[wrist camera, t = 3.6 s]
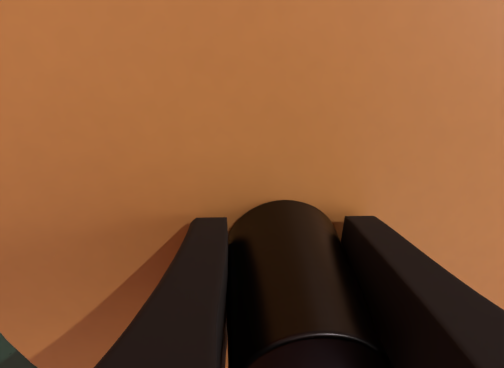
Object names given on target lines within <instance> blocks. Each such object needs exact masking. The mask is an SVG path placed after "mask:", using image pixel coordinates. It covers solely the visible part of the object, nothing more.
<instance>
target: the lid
mask: <svg viewBox="0 0 504 368" xmlns="http://www.w3.org/2000/svg"><path fill="white" fill-rule="evenodd" d="M345 216H375V217H377V218H378V219H380V220H381V221H383V222H384V223H385V224H387V225H388V226H389V227H391V228H392V229H393V230H395V231H396V232H397V233H399V234H400V235H401V236H403V237H404V238H405V239H406V240H408V241H409V242H410V243H412V244H413V245H414V246H416V247H417V248H418V249H419V250H421V251H422V252H423V253H425V254H426V255H427V256H429V257H430V258H431V259H432V260H434V261H435V262H436V263H438V264H439V265H440V266H442V267H443V268H444V269H446V270H447V271H448V272H450V273H451V274H453V275H454V276H455V277H457V278H458V279H459V280H461V281H462V282H464V283H465V284H466V285H468V286H469V287H471V288H472V289H473V290H475V291H476V292H478V293H479V294H481V295H482V296H484V297H485V298H487V299H488V300H490V301H491V302H493V303H494V304H496V305H497V306H499V307H500V308H502V309H503V310H504V0H0V333H1V334H2V335H3V336H4V338H5V339H6V340H7V341H8V342H9V343H10V344H11V345H12V346H13V347H15V348H16V349H17V350H18V351H19V352H20V353H21V354H22V355H23V356H24V357H25V358H27V359H28V360H29V361H30V362H31V363H32V364H33V365H35V366H36V367H38V368H94V367H95V366H96V364H97V363H98V362H99V361H100V360H101V359H102V357H103V356H104V355H105V354H106V353H107V352H108V350H109V349H110V348H111V347H112V346H113V344H114V343H115V342H116V341H117V339H118V338H119V337H120V336H121V334H122V333H123V332H124V331H125V329H126V328H127V327H128V325H129V324H130V323H131V321H132V320H133V319H134V317H135V316H136V314H137V313H138V312H139V310H140V309H141V308H142V306H143V305H144V303H145V302H146V301H147V299H148V298H149V296H150V295H151V294H152V292H153V291H154V289H155V288H156V286H157V285H158V283H159V281H160V280H161V278H162V277H163V275H164V273H165V272H166V270H167V268H168V267H169V265H170V264H171V262H172V260H173V259H174V257H175V255H176V253H177V251H178V250H179V248H180V246H181V244H182V242H183V240H184V238H185V236H186V233H187V231H188V229H189V226H190V223H191V222H192V221H193V220H194V219H195V218H203V217H227V226H228V284H227V302H226V306H227V351H226V364H225V368H392V364H391V362H390V359H389V357H388V354H387V352H386V350H385V347H384V345H383V342H382V340H381V338H380V335H379V333H378V330H377V328H376V326H375V323H374V321H373V318H372V316H371V314H370V311H369V309H368V306H367V304H366V302H365V299H364V297H363V294H362V292H361V290H360V287H359V285H358V282H357V280H356V278H355V275H354V273H353V270H352V268H351V266H350V263H349V261H348V258H347V256H346V254H345V251H344V249H343V246H342V244H341V237H342V230H343V224H344V218H345Z"/></svg>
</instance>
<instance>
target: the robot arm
mask: <svg viewBox="0 0 504 368" xmlns="http://www.w3.org/2000/svg"><path fill="white" fill-rule="evenodd" d="M341 244H342V246H343V249H344V251H345V254H346V256H347V258H348V261H349V263H350V266H351V268H352V270H353V273H354V275H355V278H356V280H357V282H358V285H359V287H360V290H361V292H362V294H363V297H364V299H365V302H366V304H367V306H368V309H369V311H370V314H371V316H372V318H373V321H374V323H375V326H376V328H377V330H378V333H379V335H380V338H381V340H382V342H383V345H384V347H385V350H386V352H387V354H388V357H389V359H390V362H391V364H392V368H504V310H503V309H502V308H500V307H499V306H497V305H496V304H494V303H493V302H491V301H490V300H488V299H487V298H485V297H484V296H482V295H481V294H479V293H478V292H476V291H475V290H473V289H472V288H471V287H469V286H468V285H466V284H465V283H464V282H462V281H461V280H459V279H458V278H457V277H455V276H454V275H453V274H451V273H450V272H448V271H447V270H446V269H444V268H443V267H442V266H440V265H439V264H438V263H436V262H435V261H434V260H432V259H431V258H430V257H429V256H427V255H426V254H425V253H423V252H422V251H421V250H419V249H418V248H417V247H416V246H414V245H413V244H412V243H410V242H409V241H408V240H406V239H405V238H404V237H403V236H401V235H400V234H399V233H397V232H396V231H395V230H393V229H392V228H391V227H389V226H388V225H387V224H385V223H384V222H383V221H381V220H380V219H378V218H377V217H375V216H345V218H344V224H343V230H342V237H341ZM227 284H228V226H227V217H203V218H195V219H194V220H193V221H192V222H191V223H190V226H189V229H188V231H187V233H186V236H185V238H184V240H183V242H182V244H181V246H180V248H179V250H178V251H177V253H176V255H175V257H174V259H173V260H172V262H171V264H170V265H169V267H168V268H167V270H166V272H165V273H164V275H163V277H162V278H161V280H160V281H159V283H158V285H157V286H156V288H155V289H154V291H153V292H152V294H151V295H150V296H149V298H148V299H147V301H146V302H145V303H144V305H143V306H142V308H141V309H140V310H139V312H138V313H137V314H136V316H135V317H134V319H133V320H132V321H131V323H130V324H129V325H128V327H127V328H126V329H125V331H124V332H123V333H122V334H121V336H120V337H119V338H118V339H117V341H116V342H115V343H114V344H113V346H112V347H111V348H110V349H109V350H108V352H107V353H106V354H105V355H104V356H103V357H102V359H101V360H100V361H99V362H98V363H97V364H96V366H95V367H94V368H225V364H226V351H227V306H226V302H227Z"/></svg>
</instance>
